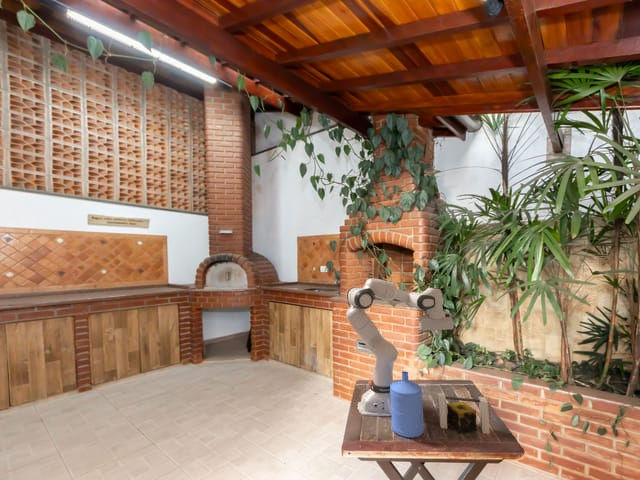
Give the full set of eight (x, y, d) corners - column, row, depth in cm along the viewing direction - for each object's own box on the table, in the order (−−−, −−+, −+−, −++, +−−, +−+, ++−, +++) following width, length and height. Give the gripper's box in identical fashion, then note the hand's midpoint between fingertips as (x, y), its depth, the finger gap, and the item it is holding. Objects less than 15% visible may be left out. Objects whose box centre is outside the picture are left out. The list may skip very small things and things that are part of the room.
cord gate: (440, 427, 152) (439, 397, 153) (440, 422, 157) (438, 392, 157) (489, 433, 145) (487, 402, 146) (487, 428, 150) (485, 397, 151)
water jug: (426, 440, 142) (423, 379, 144) (392, 437, 146) (389, 377, 147) (421, 421, 158) (419, 367, 159) (391, 419, 161) (388, 366, 162)
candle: (446, 423, 156) (445, 403, 157) (464, 420, 158) (463, 400, 158) (459, 434, 146) (458, 413, 147) (477, 431, 148) (476, 410, 148)
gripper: (420, 315, 179) (421, 339, 178) (454, 314, 180) (455, 337, 179) (416, 313, 185) (417, 336, 185) (449, 312, 186) (450, 335, 185)
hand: (436, 337), depth 182 cm, fingers closed
